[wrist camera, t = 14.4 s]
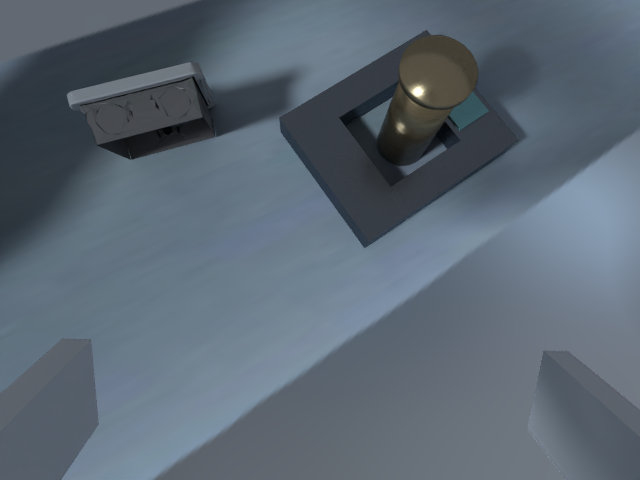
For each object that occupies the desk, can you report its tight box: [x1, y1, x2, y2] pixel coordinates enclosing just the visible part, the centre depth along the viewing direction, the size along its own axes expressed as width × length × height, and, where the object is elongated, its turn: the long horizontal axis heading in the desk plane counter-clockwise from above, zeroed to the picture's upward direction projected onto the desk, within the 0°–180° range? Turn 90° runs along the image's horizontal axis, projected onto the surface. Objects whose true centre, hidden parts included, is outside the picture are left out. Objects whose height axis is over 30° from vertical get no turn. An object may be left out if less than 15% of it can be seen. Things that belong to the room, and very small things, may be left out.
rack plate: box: [279, 30, 518, 248], centre depth 37 cm, size 16×13×3 cm
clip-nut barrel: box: [377, 35, 478, 166], centre depth 33 cm, size 5×5×11 cm
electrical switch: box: [67, 62, 216, 160], centre depth 33 cm, size 9×5×9 cm, turn 108°
